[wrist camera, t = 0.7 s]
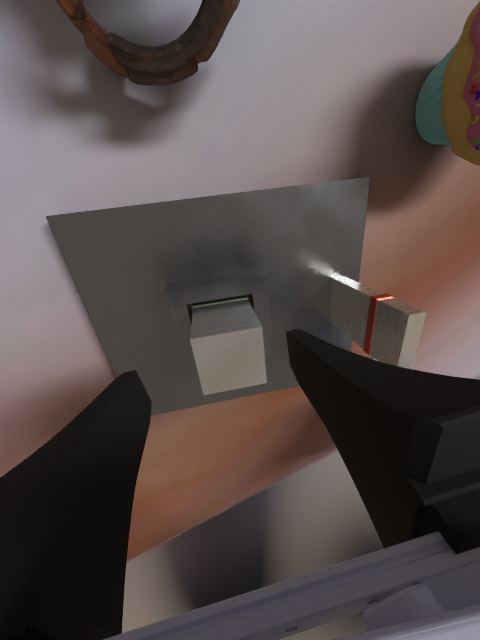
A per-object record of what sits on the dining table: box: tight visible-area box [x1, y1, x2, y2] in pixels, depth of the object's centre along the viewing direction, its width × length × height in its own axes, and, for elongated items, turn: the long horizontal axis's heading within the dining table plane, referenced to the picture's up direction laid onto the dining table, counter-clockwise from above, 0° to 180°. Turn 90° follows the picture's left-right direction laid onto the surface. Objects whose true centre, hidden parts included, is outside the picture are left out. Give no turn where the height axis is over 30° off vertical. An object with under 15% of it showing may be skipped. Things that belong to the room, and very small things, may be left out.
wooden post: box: [190, 295, 267, 395], centre depth 16 cm, size 4×4×6 cm
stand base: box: [46, 177, 427, 415], centre depth 16 cm, size 18×22×9 cm
